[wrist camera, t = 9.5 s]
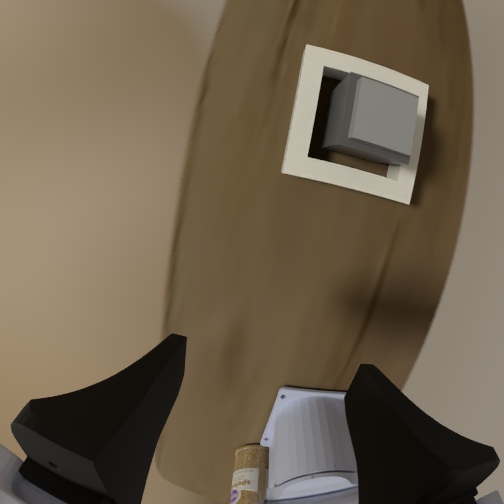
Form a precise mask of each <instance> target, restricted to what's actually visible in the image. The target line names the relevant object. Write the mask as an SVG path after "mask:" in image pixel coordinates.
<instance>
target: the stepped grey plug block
mask: <svg viewBox="0 0 504 504" xmlns="http://www.w3.org/2000/svg"><path fill="white" fill-rule="evenodd" d="M418 101H419V96H417V95H414V94H412V93H410V92H407V91H405V90H402V89H400V88H397V87H394V86H392V85H389V84H386V83H384V82H381V81H378V80H375V79H372V78H369V77H366V76H363V75H360V74H357V73H353V72H350V73H349V74H348V75H347V76H346V77H345V78H344V79H343V80H342V81H341V82H340V83H339V84H338V86H337V87H336V88H335V89H334V90H333V91H332V92H331V93H330V99H329V105H328V111H327V116H326V122H325V127H324V132H323V138H322V143H321V148H322V149H327V150H331V151H335V152H338V153H342V154H346V155H350V156H353V157H357V158H361V159H364V160H367V161H371V162H374V163H386V164H400V165H409V161H410V155H411V150H412V144H413V138H414V131H415V125H416V117H417V110H418Z"/></svg>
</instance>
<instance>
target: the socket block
mask: <svg viewBox="0 0 504 504" xmlns="http://www.w3.org/2000/svg"><path fill="white" fill-rule="evenodd" d="M350 72H353V73H357V74H360V75H363V76H366V77H369V78H372V79H375V80H378V81H381V82H384V83H386V84H389V85H392V86H394V87H397V88H400V89H402V90H405V91H407V92H410V93H412V94H414V95H417V96H419V101H418V110H417V117H416V125H415V131H414V138H413V144H412V150H411V155H410V161H409V165H400V164H389V166H388V171H387V176H386V177H382V176H379V175H376V174H372V173H369V172H365V171H361V170H358V169H354V168H350V167H347V166H343V165H339V164H335V163H331V162H327V161H323V160H318V159H314V158H310V157H307V156H308V151H309V146H310V141H311V135H312V130H313V125H314V119H315V114H316V108H317V103H318V97H319V91H320V86H321V80H322V76H326V77H330V78H334V79H338V80H341V81H342V80H343V79H344V78H345V77H346V76H347V75H348V74H349V73H350ZM428 86H429V85H427V84H425V83H422V82H420V81H418V80H415V79H413V78H411V77H408V76H406V75H404V74H401V73H399V72H396V71H393V70H391V69H388V68H386V67H383V66H380V65H377V64H374V63H371V62H368V61H365V60H362V59H359V58H356V57H353V56H349V55H346V54H342V53H339V52H335V51H331V50H328V49H324V48H320V47H315V46H311V45H306V48H305V51H304V54H303V58H302V63H301V69H300V74H299V80H298V85H297V91H296V96H295V102H294V107H293V112H292V118H291V123H290V128H289V133H288V139H287V144H286V149H285V154H284V159H283V165H282V170H281V172H282V173H285V174H290V175H295V176H300V177H304V178H309V179H313V180H318V181H322V182H326V183H330V184H335V185H339V186H343V187H347V188H351V189H355V190H359V191H362V192H366V193H370V194H374V195H377V196H381V197H384V198H388V199H391V200H395V201H398V202H402V203H405V204H408V205H409V204H410V199H411V195H412V191H413V186H414V181H415V177H416V172H417V166H418V161H419V156H420V150H421V144H422V137H423V131H424V123H425V116H426V107H427V97H428Z"/></svg>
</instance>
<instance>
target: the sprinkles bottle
mask: <svg viewBox="0 0 504 504" xmlns="http://www.w3.org/2000/svg"><path fill="white" fill-rule="evenodd" d="M235 457H236V462H235V470H234V474H233V481H232V490H231V498H230V504H256V503H257V502H258V501H259V500H261V499H267V489H268V478H269V447H265V446H261V445H259V444H250V445H244V446H242V447H240V448H238V449H237V450H236V453H235Z"/></svg>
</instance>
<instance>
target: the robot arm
mask: <svg viewBox="0 0 504 504" xmlns="http://www.w3.org/2000/svg"><path fill="white" fill-rule="evenodd" d="M186 343H187V337H185V336H181V335H177V334H173V333H172V334H170V335H169V336H168V337H167V338H165V339H164V340H163V341H162V342H161V343H160V344H158V345H157V346H156V347H155V348H153V349H152V350H151V351H150V352H148V353H147V354H146V355H144V356H143V357H142V358H140V359H139V360H138V361H136V362H134V363H133V364H131V365H130V366H128V367H127V368H125V369H124V370H122V371H120V372H119V373H117V374H115V375H113V376H111V377H110V378H107V379H105V380H103V381H101V382H99V383H96V384H94V385H91V386H89V387H86V388H83V389H80V390H77V391H74V392H70V393H67V394H62V395H58V396H54V397H47V398H40V399H33V400H30V401H29V402H28V403H27V404H26V406H25V407H24V408H23V409H22V411H21V412H20V413H19V415H18V416H17V417H16V418H15V420H14V421H13V422H12V424H11V430H12V433H13V435H14V437H15V439H16V440H17V442H18V443H19V444H20V446H21V448H22V449H23V451H24V452H25V454H26V455H27V458H26V460H25V461H24V462H23V461H22V460H21V459H20V458H19V457H18V456H16V455H15V454H14V453H12V452H11V451H9V450H8V449H7V448H5V447H4V446H3V445H1V444H0V504H141V500H142V496H143V492H144V488H145V484H146V480H147V476H148V473H149V469H150V465H151V462H152V458H153V455H154V452H155V448H156V445H157V442H158V439H159V437H160V434H161V432H162V430H163V428H164V425H165V423H166V421H167V419H168V416H169V414H170V412H171V410H172V407H173V405H174V403H175V401H176V398H177V396H178V393H179V390H180V387H181V383H182V380H183V377H184V370H185V355H186ZM282 395H285V396H282ZM260 445H261V446H265V447H269V478H268V489H267V499H261V500H259V501H258V502H257V503H256V504H504V503H503V501H502V499H501V496H500V494H499V492H498V491H494V492H492V493H490V494H488V495H486V496H484V497H482V498H480V499H478V500H477V501H475V498H474V496H476V495H477V494H478V491H477V489H476V487H477V486H478V485H479V484H481V483H482V482H483V481H484V480H485V479H486V478H487V477H488V476H489V475H490V474H491V473H492V472H493V471H494V470H495V469H496V468H497V467H498V465H499V462H500V460H499V458H498V455H497V454H496V452H495V450H494V448H493V447H491V446H488V445H484V444H481V443H478V442H475V441H473V440H470V439H468V438H466V437H463V436H461V435H459V434H457V433H455V432H453V431H452V430H450V429H448V428H447V427H445V426H443V425H441V424H440V423H438V422H437V421H435V420H434V419H433V418H431V417H430V416H429V415H427V414H426V413H425V412H423V411H422V410H421V409H420V408H418V407H417V406H416V405H415V404H414V403H413V402H412V401H411V400H409V399H408V398H407V397H406V396H405V395H404V394H403V393H402V392H401V391H400V390H399V389H398V388H397V387H396V386H395V385H394V384H393V383H392V382H391V381H390V380H389V379H388V378H387V377H386V376H385V375H384V374H383V373H382V372H381V371H380V370H379V369H378V368H377V367H375V366H374V365H371V364H360V366H359V368H358V371H357V373H356V375H355V377H354V379H353V381H352V383H351V385H350V387H349V389H348V391H347V392H335V391H322V390H311V389H301V388H292V387H282V388H280V390H279V392H278V395H277V398H276V401H275V403H274V406H273V409H272V412H271V414H270V417H269V420H268V423H267V425H266V428H265V430H264V433H263V436H262V438H261V441H260Z"/></svg>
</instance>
